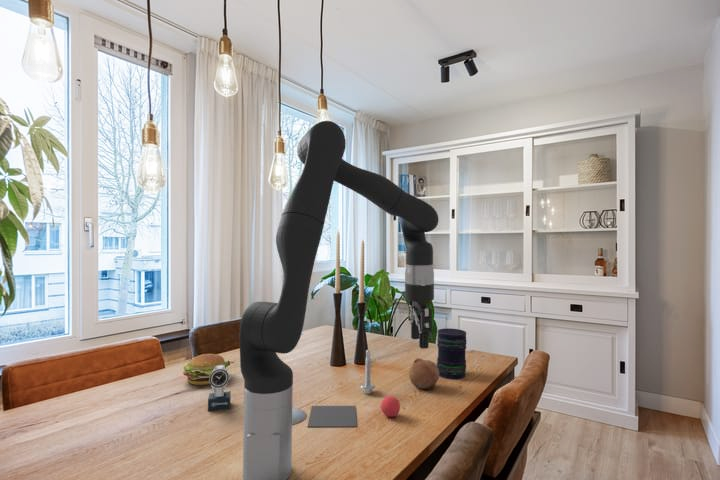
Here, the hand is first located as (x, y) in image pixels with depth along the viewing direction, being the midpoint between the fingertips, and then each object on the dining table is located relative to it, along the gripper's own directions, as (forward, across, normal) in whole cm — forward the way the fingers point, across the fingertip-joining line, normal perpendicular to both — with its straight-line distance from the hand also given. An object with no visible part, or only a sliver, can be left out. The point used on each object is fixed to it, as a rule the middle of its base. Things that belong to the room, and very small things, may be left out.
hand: (419, 343), depth 102 cm
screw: (+19, -16, -12) cm, 28 cm away
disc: (+18, -2, -35) cm, 39 cm away
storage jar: (+20, -30, +20) cm, 41 cm away
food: (+19, -31, -63) cm, 72 cm away
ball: (+16, 0, -8) cm, 18 cm away
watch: (+18, -9, -53) cm, 57 cm away
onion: (+20, -19, +7) cm, 28 cm away
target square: (+19, -1, -23) cm, 29 cm away
